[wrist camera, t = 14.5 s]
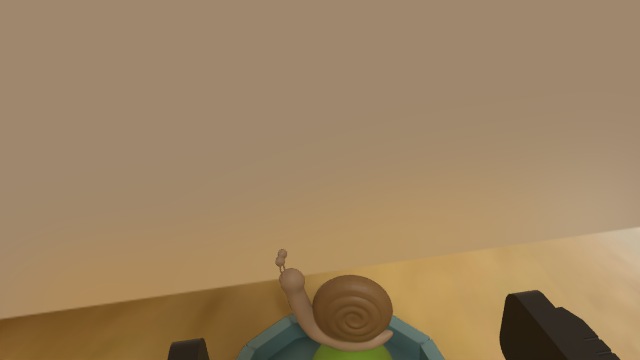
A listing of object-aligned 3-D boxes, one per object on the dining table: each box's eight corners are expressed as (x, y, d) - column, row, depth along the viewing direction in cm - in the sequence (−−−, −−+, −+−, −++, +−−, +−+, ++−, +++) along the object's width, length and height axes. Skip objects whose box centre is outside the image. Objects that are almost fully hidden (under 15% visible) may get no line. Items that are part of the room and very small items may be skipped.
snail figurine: (304, 370, 31) (284, 227, 26) (395, 373, 30) (392, 225, 25) (292, 445, 26) (264, 286, 21) (400, 450, 25) (398, 285, 20)
